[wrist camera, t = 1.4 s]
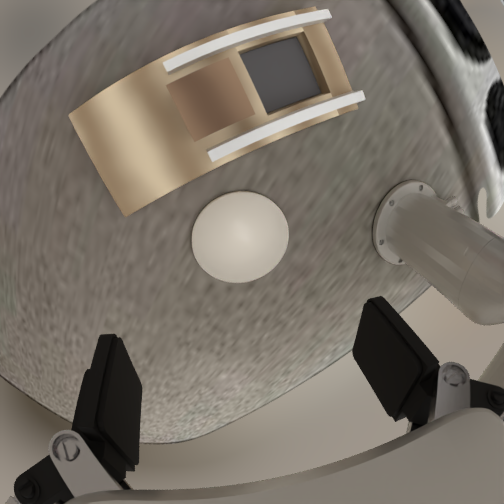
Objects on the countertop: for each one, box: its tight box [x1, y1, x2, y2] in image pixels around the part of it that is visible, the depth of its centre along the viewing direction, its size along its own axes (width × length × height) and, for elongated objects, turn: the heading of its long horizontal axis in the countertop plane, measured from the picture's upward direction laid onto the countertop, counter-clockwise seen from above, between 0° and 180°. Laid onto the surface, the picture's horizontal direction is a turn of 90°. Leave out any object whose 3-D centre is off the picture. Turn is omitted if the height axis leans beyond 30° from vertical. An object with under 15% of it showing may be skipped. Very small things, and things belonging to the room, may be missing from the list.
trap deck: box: [69, 7, 366, 217], centre depth 24 cm, size 26×12×5 cm, turn 114°
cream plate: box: [192, 191, 289, 283], centre depth 33 cm, size 11×11×1 cm
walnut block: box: [166, 57, 255, 142], centre depth 21 cm, size 5×5×5 cm
